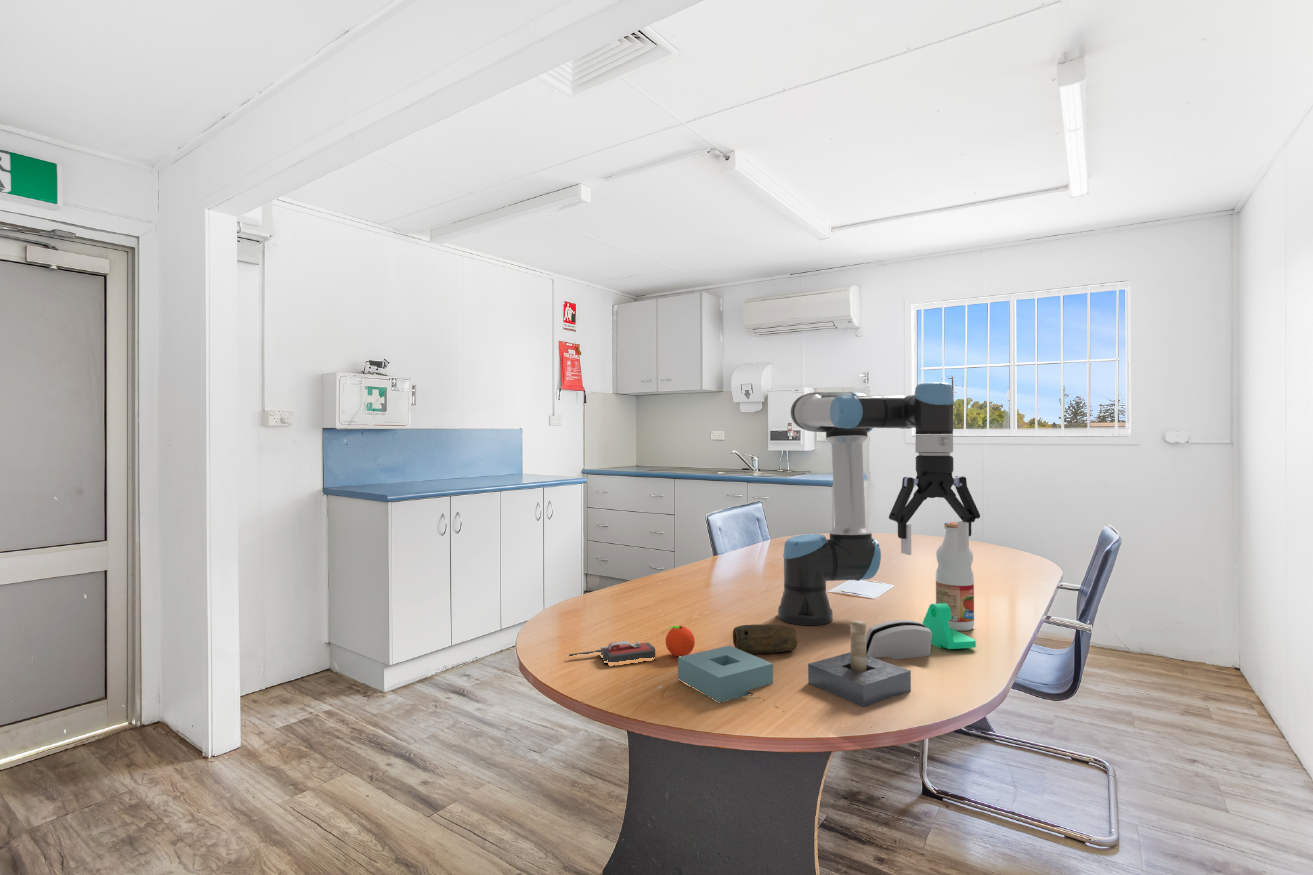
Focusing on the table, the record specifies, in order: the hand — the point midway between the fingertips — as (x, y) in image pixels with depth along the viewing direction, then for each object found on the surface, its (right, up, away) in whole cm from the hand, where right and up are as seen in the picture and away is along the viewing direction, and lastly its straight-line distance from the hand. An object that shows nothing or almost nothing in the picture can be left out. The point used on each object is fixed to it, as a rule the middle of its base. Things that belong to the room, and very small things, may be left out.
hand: (934, 552), depth 139 cm
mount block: (-19, -26, -9) cm, 34 cm away
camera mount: (+12, -27, +21) cm, 36 cm away
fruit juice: (+21, -27, +35) cm, 49 cm away
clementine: (-55, -27, +13) cm, 63 cm away
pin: (-19, -25, -9) cm, 33 cm away
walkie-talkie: (-70, -27, +10) cm, 76 cm away
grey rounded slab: (-4, -27, +11) cm, 29 cm away
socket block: (-46, -27, -5) cm, 53 cm away
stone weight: (-34, -27, +15) cm, 46 cm away
